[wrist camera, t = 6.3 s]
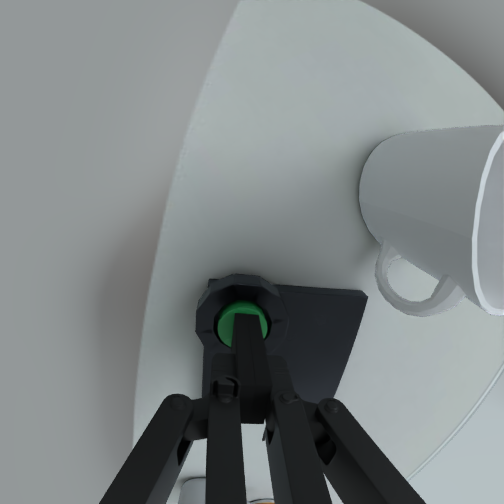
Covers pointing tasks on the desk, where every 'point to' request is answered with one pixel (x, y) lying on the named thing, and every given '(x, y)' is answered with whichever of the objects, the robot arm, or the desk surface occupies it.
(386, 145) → the mug
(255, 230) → the desk surface
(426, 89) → the desk surface
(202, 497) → the cup
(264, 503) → the pill bottle
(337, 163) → the desk surface
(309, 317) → the scale
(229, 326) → the tare button
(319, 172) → the desk surface
